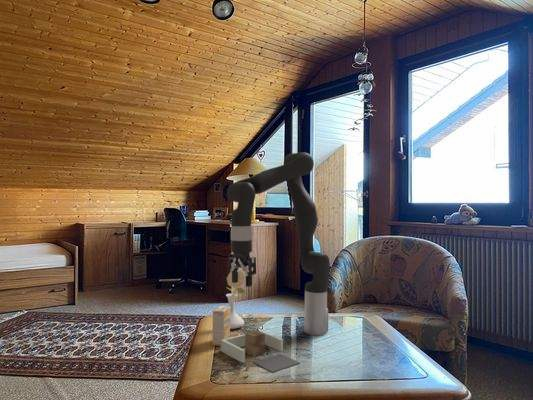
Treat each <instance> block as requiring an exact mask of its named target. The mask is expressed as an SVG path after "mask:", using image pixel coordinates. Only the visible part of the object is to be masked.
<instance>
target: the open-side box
mask: <svg viewBox="0 0 533 400" xmlns="http://www.w3.org/2000/svg"><path fill="white" fill-rule="evenodd" d="M259 331H260V332H263V333H265V346H268V347H270V348H272V349H274V350H277V351H278V352H283V351H284V340H283V339H282V338H279V337H277V336H275V335H272V334H269V333H268V332H265V331H263V330H259ZM242 347H245V333H244V334H240V335H236V336H230V338H227V339H223V340H221V346H220V352H221V353H224V354H226V355H227V356H229V357H231V358H232V359H234V360H236V361H238V362H240V363H242V364H243V363H246V352H245V348H242Z"/></svg>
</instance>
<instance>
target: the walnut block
mask: <svg viewBox="0 0 533 400" xmlns="http://www.w3.org/2000/svg"><path fill="white" fill-rule="evenodd" d="M260 331H261V330H257V329H256V330H255V329H254V330H251V331H248V332H245V333H244V334H245V346H244V350H245V354H248V355H250V356H252V357H255V356H259V355H263V354H266V353H265V352H266V345H265V333H266V332H265V333H263V332H264V331H263V332H260Z"/></svg>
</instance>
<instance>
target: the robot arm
mask: <svg viewBox="0 0 533 400" xmlns="http://www.w3.org/2000/svg"><path fill="white" fill-rule="evenodd" d="M314 161H315V160H314V158H313V156H312V155H311V154H310V153H307V152H304V151H303V152H302V151H301V152H294V153H289V154H287V155H286V156H284V159H283V164H282V165H279V166H275V167H272V168H268V169H266V170H262V171H260V172H259V173H257V174H254V175H253V176H250V177H247V178H244V179H241V180H238V181H235V182H233V183H231V184H230V185H229V187H228V188H227V191H226V194H227V195H226V196H227V198H228V199H229V200H230V201H231V202H234V203H237V207H236V208H235V209H234V210H232V211H231V216H230V218H231V221H230V222H231V224H230V225H231V226H230V227H231V228H230V252H231V253H228V255H227V270H228V271H230V272H232V283H237V282H238V272H237V271H238V270H240V269H241V271H242V272H243V273H244V275H245V278H246V279H245V287H246V288H249V287H250V288H251V287H252V286H253V276H254V275H256V274H257V259H256V256H250V255H251V254H250V253H252V251H253V230H252V213H253V208H254V205H255V204H254V203H255V200H256V195H258V194H262V193H264V192H267V191H269V190H270V189H272V188H274V187H276V186H278V185H280V184H282V183H285V182H287V185H288V190H289V192H290V197H291V203H292V206H293V207H292V208H293V215H294V220H295V226H296V230H297V237H298V243H299V244H298V245H299V255H300V256H299V260H300V265H301V268H302V270H303V271H304V272H305V273H307V274H309V275H310V274H311V275H313V276H312V280H311V281H308V282H306V283H305V284H304V330H303V331H304V333H305V334H307V335H311V336H323V335H326V334H327V332H329V308H328V286H329V283H330V271H331V269H330V268H331V263H330V262H331V261H330V258H329V256H328V254H327V253H324V252H318V251H315V248H314V235H315V232H316V229H317V226H318V223H319V220H318V213H317V211H318V210H317V207H316V203H315V202H314V200H313V198H312V197H311V196H310V194H309V193H308V191H307V190H306V188H305V186H304V184H303V179H302V176H307V175H309V174H310V173H311V172H312V171H313V169H314V167H315V166H314V163H315V162H314Z"/></svg>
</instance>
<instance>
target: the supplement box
mask: <svg viewBox="0 0 533 400" xmlns="http://www.w3.org/2000/svg"><path fill="white" fill-rule="evenodd" d="M211 334H212V339H211V340H212V341H211V342H212V343H211V345H212V346H214V347H215V346H217V347H221V340H223V339H227V338H231V329H230V306H229V305H228V306H227V305H218V307H216V308H215V309H214V310H212V332H211Z"/></svg>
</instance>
